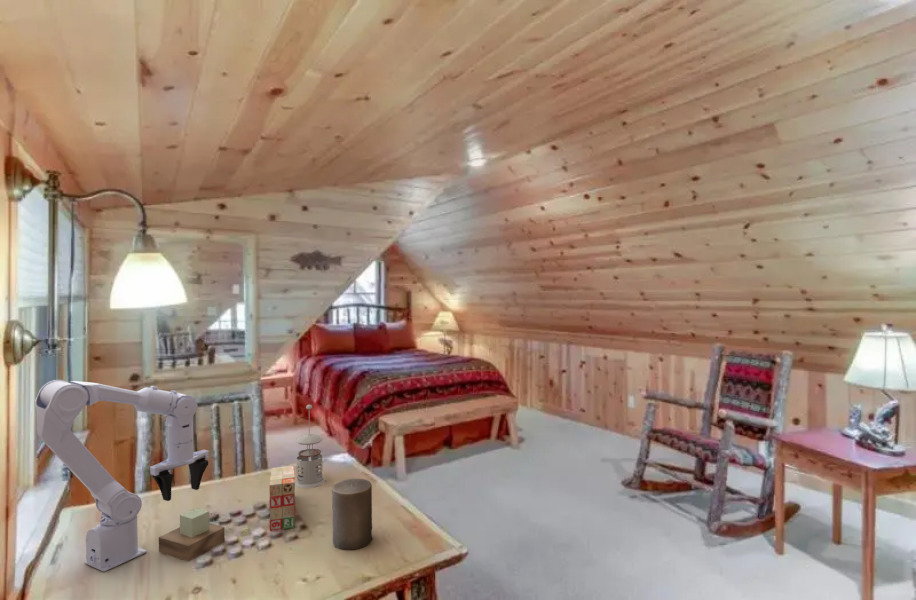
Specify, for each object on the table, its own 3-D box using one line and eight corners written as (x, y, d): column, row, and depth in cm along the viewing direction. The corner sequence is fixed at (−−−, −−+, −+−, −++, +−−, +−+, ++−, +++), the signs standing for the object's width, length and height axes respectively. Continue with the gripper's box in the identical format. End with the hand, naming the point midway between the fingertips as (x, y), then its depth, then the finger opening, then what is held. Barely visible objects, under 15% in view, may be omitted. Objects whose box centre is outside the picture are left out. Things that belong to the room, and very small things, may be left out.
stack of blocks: (271, 499, 151) (271, 457, 150) (294, 496, 153) (293, 455, 152) (269, 531, 131) (269, 484, 130) (295, 528, 133) (294, 481, 132)
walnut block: (188, 563, 116) (188, 546, 116) (158, 553, 120) (158, 537, 120) (224, 543, 125) (224, 527, 125) (196, 535, 130) (195, 519, 129)
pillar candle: (380, 537, 127) (380, 478, 127) (351, 554, 119) (351, 491, 119) (352, 527, 133) (352, 470, 132) (323, 543, 125) (323, 482, 124)
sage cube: (192, 537, 120) (191, 518, 120) (180, 533, 122) (179, 514, 122) (209, 529, 124) (209, 511, 124) (197, 525, 126) (197, 507, 126)
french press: (293, 489, 157) (292, 409, 157) (294, 476, 169) (293, 401, 168) (325, 486, 160) (325, 407, 159) (325, 473, 171) (324, 399, 170)
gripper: (162, 451, 121) (163, 508, 121) (216, 435, 134) (217, 487, 134) (144, 447, 124) (145, 502, 125) (198, 432, 137) (199, 482, 137)
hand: (181, 494), depth 130 cm, fingers open, 7 cm apart
